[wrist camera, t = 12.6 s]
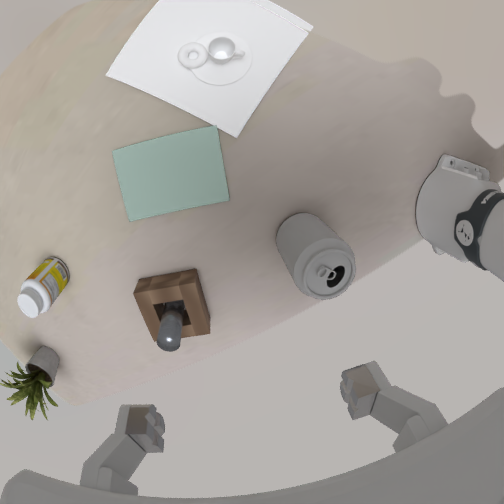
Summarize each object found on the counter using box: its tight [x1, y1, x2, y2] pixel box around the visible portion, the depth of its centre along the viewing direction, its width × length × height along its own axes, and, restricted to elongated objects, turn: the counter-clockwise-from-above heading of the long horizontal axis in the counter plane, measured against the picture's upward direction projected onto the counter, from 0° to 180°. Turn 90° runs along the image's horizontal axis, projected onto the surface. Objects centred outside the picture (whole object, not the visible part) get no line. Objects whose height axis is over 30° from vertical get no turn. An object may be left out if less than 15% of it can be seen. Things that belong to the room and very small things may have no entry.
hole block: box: [133, 269, 210, 341], centre depth 40 cm, size 9×9×4 cm
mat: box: [112, 125, 230, 222], centre depth 34 cm, size 14×10×1 cm
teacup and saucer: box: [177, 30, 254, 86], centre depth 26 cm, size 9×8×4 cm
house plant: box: [0, 346, 59, 420], centre depth 36 cm, size 14×14×16 cm
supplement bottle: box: [18, 257, 69, 318], centre depth 32 cm, size 6×6×10 cm
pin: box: [157, 300, 185, 351], centre depth 37 cm, size 3×3×10 cm
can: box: [276, 213, 356, 300], centre depth 34 cm, size 8×8×12 cm
